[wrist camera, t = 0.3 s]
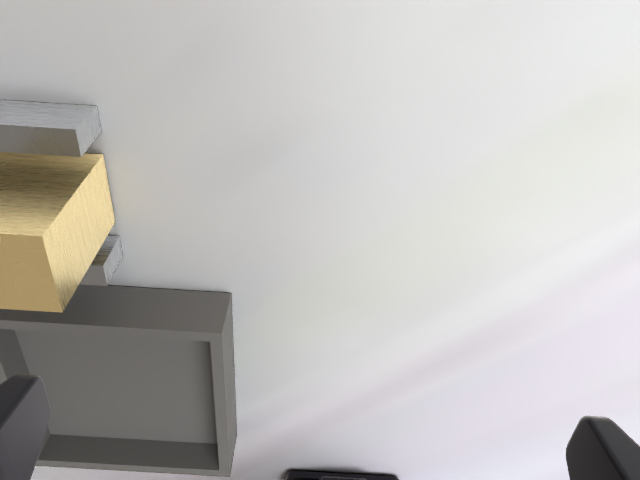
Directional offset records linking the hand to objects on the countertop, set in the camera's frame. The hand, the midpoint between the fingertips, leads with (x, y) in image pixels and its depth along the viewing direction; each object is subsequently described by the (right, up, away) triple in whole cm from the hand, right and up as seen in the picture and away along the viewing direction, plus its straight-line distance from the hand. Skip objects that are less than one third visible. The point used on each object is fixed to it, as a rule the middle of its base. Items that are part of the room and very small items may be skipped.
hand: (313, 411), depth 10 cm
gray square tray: (-9, -3, +18) cm, 21 cm away
